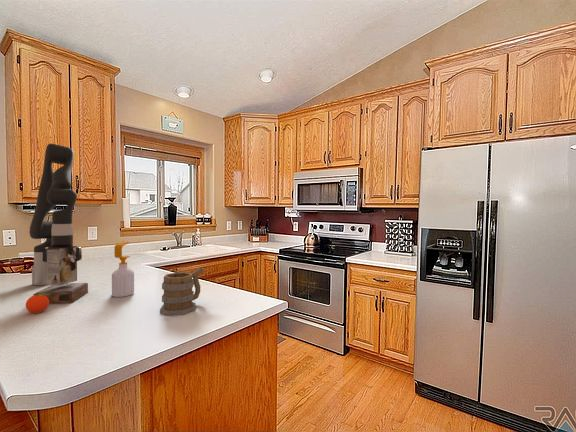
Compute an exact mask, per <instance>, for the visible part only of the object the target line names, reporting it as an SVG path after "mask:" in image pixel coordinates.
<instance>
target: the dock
mask: <svg viewBox="0 0 576 432" xmlns="http://www.w3.org/2000/svg"><path fill="white" fill-rule="evenodd" d="M88 293H89V283H88V282H71V283H67V284H64V285H60V286H57V285H48V286H47V287H45V288H43V289H41V290H38V291H36V292H35V293H33V295H37V294H48V295H45V296H47V297H48V299H49V305H60V304H73V303H75V302H76V301H78V300H79V299H80V298H82V297H84V296H85V295H88ZM33 295H32V296H33Z"/></svg>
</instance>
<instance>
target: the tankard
mask: <svg viewBox="0 0 576 432" xmlns="http://www.w3.org/2000/svg"><path fill="white" fill-rule="evenodd" d="M200 273H201V274H204V273H205V269H204V268H202V267H198V268H197V269H195V270H194V271H193V272H172V273H167V274H165V275H164V276H163V281H162V283H161V289H162V290H163V294H162V295H161V302H162V303H163V304H162V305H161V307H160V308H159V314H162V315H166V316H169V317H172V316H182V315H183V316H184V315H187V314H190V313H192V312H194V311H195V309H196V302H194V301H195V300H197V299H198V298H199V296H200V293H201V284H200V281H199V274H200ZM193 287H194V288H195V289H194V291H193Z"/></svg>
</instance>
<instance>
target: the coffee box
mask: <svg viewBox="0 0 576 432" xmlns="http://www.w3.org/2000/svg"><path fill="white" fill-rule="evenodd" d="M73 247H74V248H75V247H78V245H73ZM68 253H69V247H54V248H47V285H46V286H51V285H57V286H60V285H64V284H67V283H75V282H77V281H78V267H77V268H76V269H75V270H74V271H71V263H72V261H71V260H70V259H69V258H68ZM69 254H70V255H74V256H75V257H76V252H75V250H73V251H72V252H71V253H69Z"/></svg>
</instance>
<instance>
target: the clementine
mask: <svg viewBox="0 0 576 432" xmlns="http://www.w3.org/2000/svg"><path fill="white" fill-rule="evenodd" d="M45 295H48V294H37V295H32V296H30V297H29V298H27V300H26V302H25V309H26V310H27V312H30V313H32V314H39V313H42V312H43V311H45V310H46V309H47V308H48V307H49V305H50V304H49V299H48V297H47V296H45Z"/></svg>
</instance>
